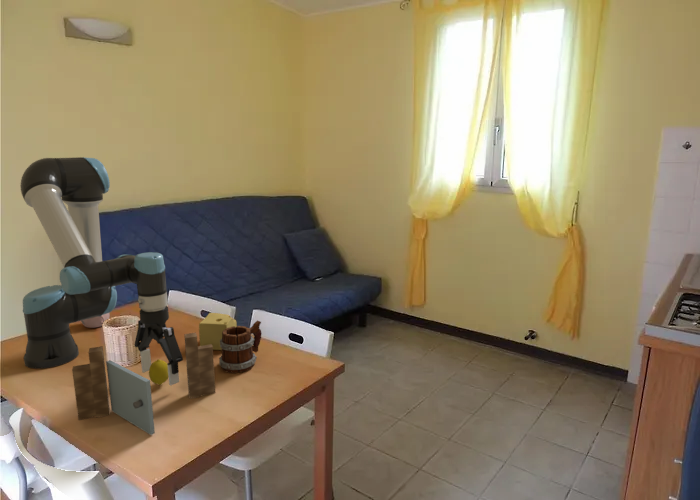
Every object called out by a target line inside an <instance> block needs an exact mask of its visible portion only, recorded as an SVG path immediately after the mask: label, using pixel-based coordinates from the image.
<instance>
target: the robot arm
mask: <svg viewBox="0 0 700 500" xmlns="http://www.w3.org/2000/svg"><path fill="white" fill-rule="evenodd" d="M109 191H110V177H109V173H108V171H107V169H106V168H105V165H104V164H103V162H101V161H100V160H99V159H97V158H94V157H84V156H83V157H81V156H80V157H78V156H77V157H43V158H39V159H37V160H35V161H34V162H32V163H30V165H28V167H27V168H26V169H25V170H24V172H23V174H22V175H21V179H20V192H21V196H22V198H23V200H24V202H25V204H26V205H28V206H29V207H31V208H32V209H33V210H34V212H35V214H36V216H37V219H38V220H39V223H40V224H41V226H42V228H43V230H44V231H45V233H46V236H47V238H48V239H49V241H50V242H51V243H50V244H51V245H52V246H53V248H54V251H55V253H56V255H57V256H58V258H59V260H60V262H61V264H62V266H63V268H61V269H60V272H59V282H60V283H61V284H60V285H59V284H55V285H54V284H53V285H47V286H43V287H39V288H36V289H33V290H31V291H29V292H28V293H27V294H24V295H25V296H23V298H22V313H23V317H24V323H25V330H26V337H27V342H26V343H27V344H26V347H25V353H24V355H23V362H24V363H23V364H24V366H25V367H27V368H30V369H48V368H54V367H58V366H61V365H62V366H63V365H64V364H67V363H69V362H71V361H73V360H74V359H76V358H77V357H78V356H79V354H80V352H79V351H80V350H79V346H78V344H77V343H76V341H75V339H74V337H73V336H72V333H71V329H70V324H73V323H76V322H81V320H85V319H89V318H93V317H99V316H102V315H104V314H107V313H109V314H110V313H111V312H113V310H115V308H116V305H117V302H118V301H117V300H118V293H117V289H116V287H117V286H121V285H122V286H123V285H126V284H131V283H133V284H135V285H136V289H137V296H138V300H137V302H138V308H139V309H140V310H139V320H138V321H137V326H138V327H137V332H136V337H135V341H134V347H135V348H137V350H138V351H139V355H140V365H141V373H147V372H149V369H150V366H151V364H152V359H151V357H152V356H151V349H150V345H151V342H153V340H154V341H156V343H157V344H158V345H160V347H161V350H162V351H163V353H164V355H165V357H166V359H167V361H168V363H167V362H166V363H167V365H168V376H169V377H168V384H169V386H174V385H175V384H177V383H179V382H180V374H179V373H180V372H179V371H180V370H179V363H180V362H182V361H184V357H183V354H182V352H181V350H180V345H179V344H178V340H177V338H176V336H175V335H176V334H175V329H174V327H173V326H170V327H167V325H166V323H167V321H168V320H169V319H170V315H169V307H168V305H169V302H168V301H169V300H168V292H167V278H166V265H165V261H164V255H163V254H162V253H160V252H151V251H149V252H148V251H147V252H142V253H138V254H136V255H135V254H134V255H133V254H121V255H118V256H117V257H116V258H114V259H113V258H112V259H109V260H108V259H107V260H103V253H102V240H101V225H100V214H99V213H100V211H99V205H100V204H101V203H102V202H103V201H104V195H105V194H106V193H108V192H109Z"/></svg>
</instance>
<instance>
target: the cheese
mask: <svg viewBox="0 0 700 500" xmlns="http://www.w3.org/2000/svg"><path fill="white" fill-rule="evenodd" d="M233 326H235V327H236V326H238V325H237V320H236V319H235V318H233V317H231V316H230V315H229V314H226V313H220V312H218V313H217V312H209V313H208V314H207V315H206V316H205V317H204V319H203V320H201V321H200V322H199V324H198V336H199V346H204V345H210V344H212V346H213V351H222V348H221V347H220V340H221V339H222V332H223V330H225V329H226V328H229V327H233Z"/></svg>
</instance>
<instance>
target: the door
mask: <svg viewBox="0 0 700 500" xmlns="http://www.w3.org/2000/svg"><path fill="white" fill-rule="evenodd" d="M105 363H106V365H105V366H106V372H107V373H106V374H107V380H108V381H107V382H108V383H107V384H108V389H109V390H108V393H109V398H110V399H109V402H110V409H111V412H113V413H114V414H116V415H117V416H119V417H121V418H123V419H124V420H126V421H127V422H129V423H130V424H132V425H134V426H135V427H137V428H138V429H140V430H142V431H144V432H146V433H147V434H148V435H150V436H152V435H154V434H155V433H156V432H155V431H156V430H155V422H154V419H155V418H154V411H153V400H152V398H153V397H152V389H151V387H152V386H151V379H148V378H146V377H144V376H142V375H140V374H138V373H136V372H134V371H132V370H130V369H128V368H126V367H124V366H122V365H120V364H118V363H116V362H115V361H112V360H111V359H110V360H107V361H105Z"/></svg>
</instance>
